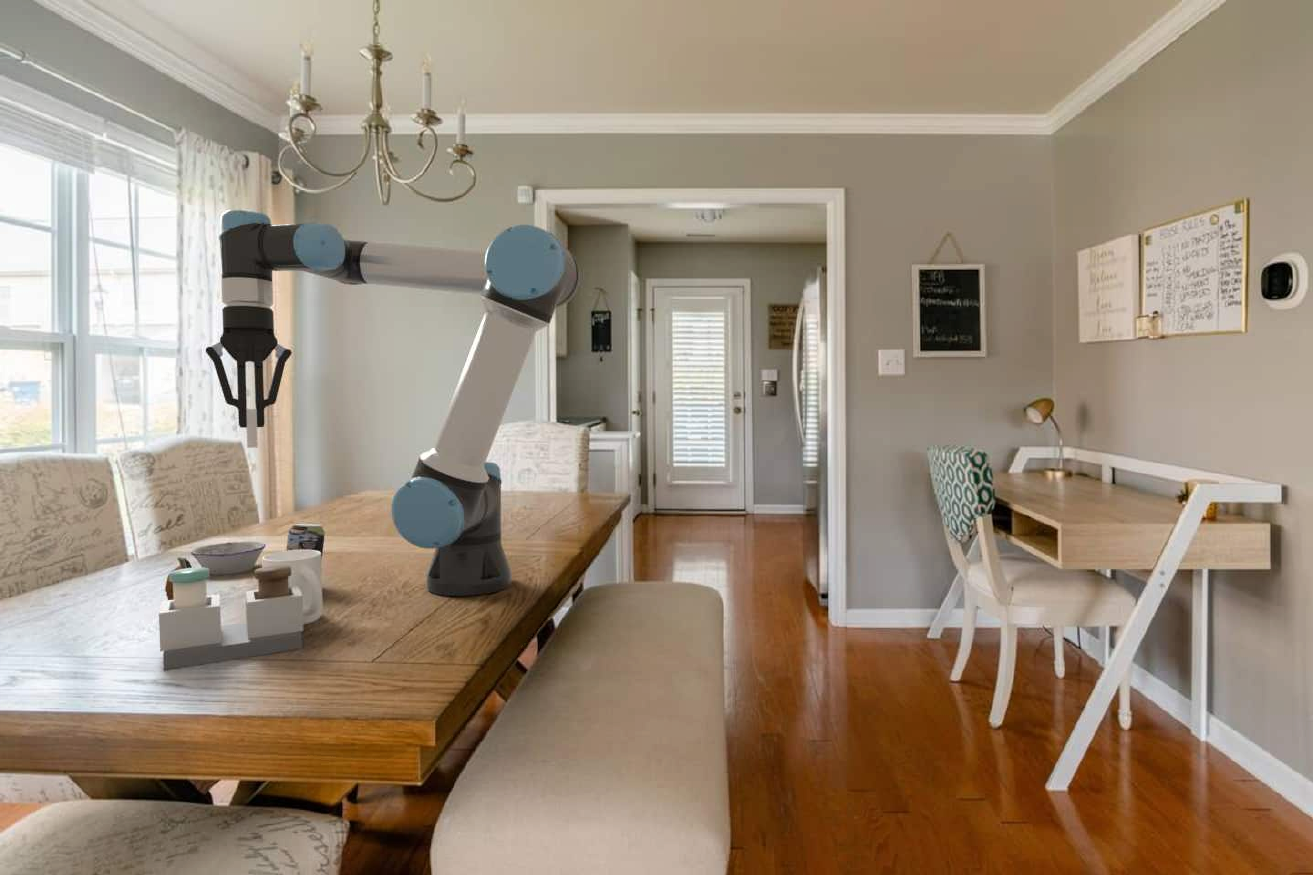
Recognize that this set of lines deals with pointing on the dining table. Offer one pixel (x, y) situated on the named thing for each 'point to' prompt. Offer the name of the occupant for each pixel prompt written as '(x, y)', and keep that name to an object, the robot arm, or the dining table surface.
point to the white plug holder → (230, 630)
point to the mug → (302, 578)
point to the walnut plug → (273, 581)
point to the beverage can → (306, 537)
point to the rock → (169, 585)
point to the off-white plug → (189, 587)
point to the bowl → (228, 556)
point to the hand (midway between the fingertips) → (252, 446)
